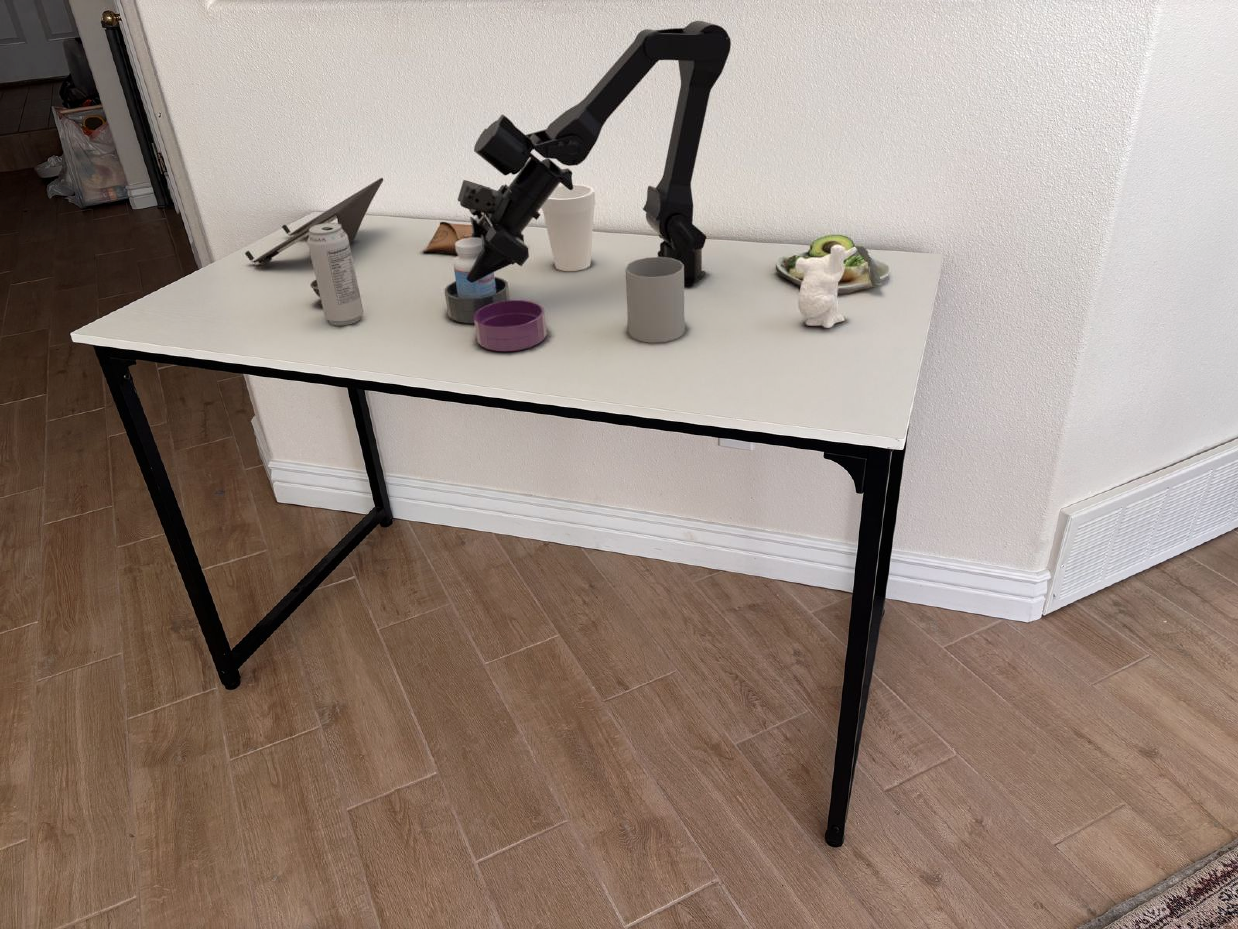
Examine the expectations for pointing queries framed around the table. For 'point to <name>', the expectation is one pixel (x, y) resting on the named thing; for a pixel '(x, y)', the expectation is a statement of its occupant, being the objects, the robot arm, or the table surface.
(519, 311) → the plum bowl
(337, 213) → the laptop stand
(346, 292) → the energy drink can
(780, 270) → the salad plate
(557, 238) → the foam cup
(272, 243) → the table surface
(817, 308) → the white figurine
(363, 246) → the table surface
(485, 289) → the pill bottle
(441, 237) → the sunglasses case
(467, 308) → the charcoal bowl
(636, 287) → the cup
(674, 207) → the robot arm
